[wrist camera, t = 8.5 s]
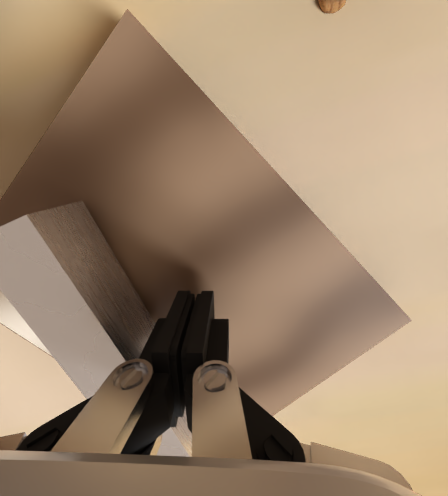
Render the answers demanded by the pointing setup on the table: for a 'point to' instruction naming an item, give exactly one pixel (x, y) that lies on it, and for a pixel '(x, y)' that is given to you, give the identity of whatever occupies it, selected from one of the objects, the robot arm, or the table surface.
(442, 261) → the table surface
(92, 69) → the stool seat
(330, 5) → the lion figurine
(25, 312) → the folding leg
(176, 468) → the robot arm
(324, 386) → the table surface
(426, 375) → the table surface
